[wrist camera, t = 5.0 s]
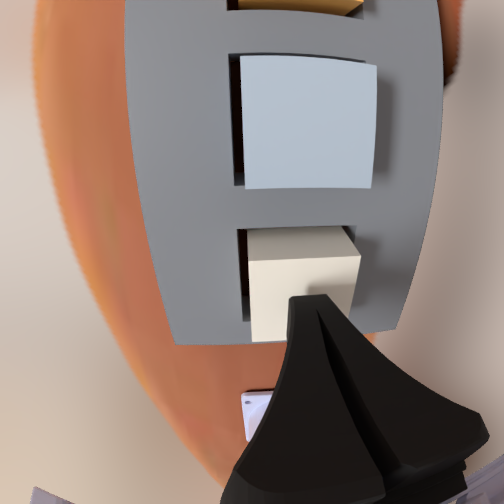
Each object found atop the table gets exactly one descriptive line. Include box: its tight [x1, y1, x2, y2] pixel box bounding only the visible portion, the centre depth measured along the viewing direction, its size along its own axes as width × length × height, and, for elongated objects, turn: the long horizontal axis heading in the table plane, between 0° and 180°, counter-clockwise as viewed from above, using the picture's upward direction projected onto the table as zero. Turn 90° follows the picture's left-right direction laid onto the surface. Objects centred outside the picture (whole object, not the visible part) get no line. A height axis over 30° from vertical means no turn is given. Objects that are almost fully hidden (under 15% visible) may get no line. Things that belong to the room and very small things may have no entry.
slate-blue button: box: [240, 56, 377, 189], centre depth 9 cm, size 4×4×2 cm
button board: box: [125, 0, 443, 345], centre depth 10 cm, size 21×12×2 cm, turn 2°
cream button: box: [247, 226, 361, 342], centre depth 12 cm, size 4×4×2 cm
